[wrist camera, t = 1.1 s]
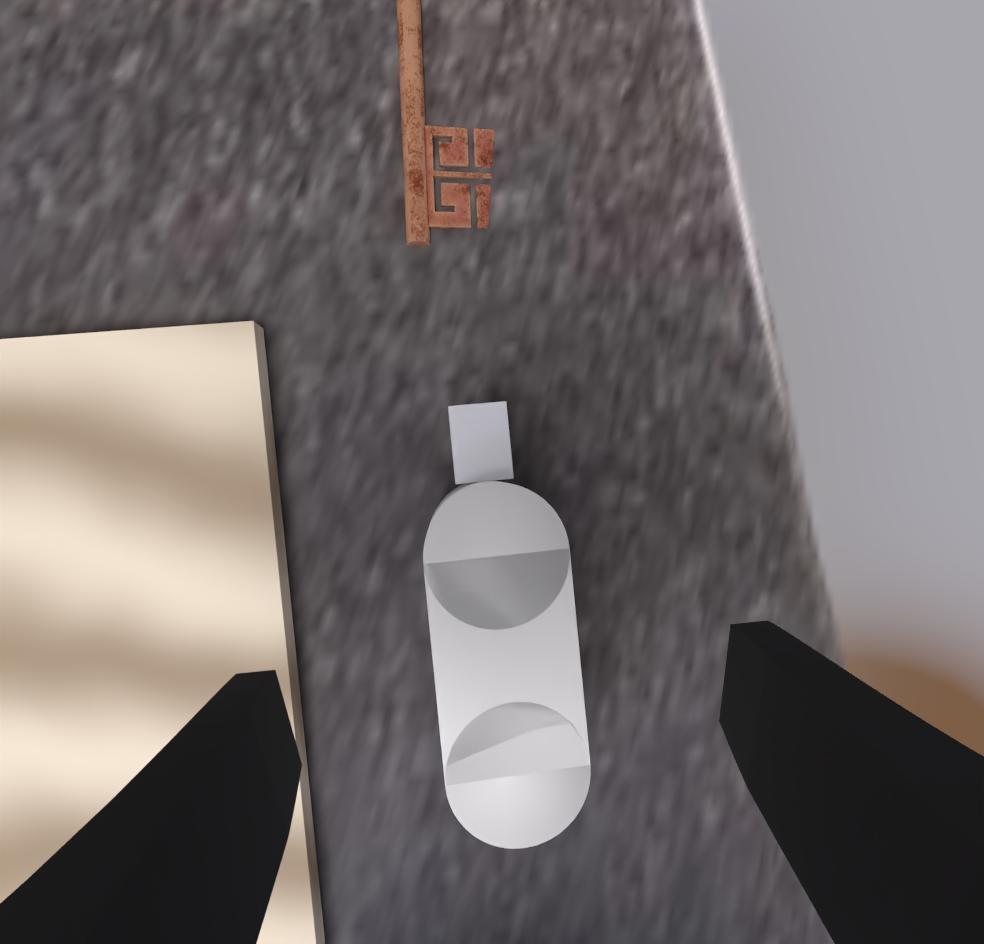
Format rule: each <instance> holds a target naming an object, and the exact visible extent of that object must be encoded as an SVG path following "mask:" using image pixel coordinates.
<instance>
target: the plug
mask: <svg viewBox="0 0 984 944" xmlns="http://www.w3.org/2000/svg"><path fill="white" fill-rule="evenodd" d="M448 415H449V425H450V435H451V445H452V455H453V466H454V476H455V484H462V485H460V486H458V487H456V488H455V489H453V490H452V491H451V492H449V493H448V494H447V495H446V496H445V497H444V498H443V499H442V500H441V502H440V503H439V504H438V506H437V508H436V510H435V511H434V514H433V516H432V519H431V522H430V525H429V528H428V531H427V534H426V538H425V543H424V550H423V566H424V576H425V586H426V596H427V607H428V617H429V627H430V637H431V647H432V657H433V668H434V678H435V688H436V698H437V708H438V718H439V728H440V739H441V749H442V759H443V769H444V779H445V788H446V794H447V798H448V801H449V804H450V807H451V809H452V811H453V813H454V815H455V816H456V818H457V819H458V821H459V822H460V823H461V824H462V826H463V827H464V828H465V829H466V830H467V831H469V832H470V833H471V834H472V835H473V836H475V837H476V838H478V839H479V840H481V841H483V842H486V843H488V844H490V845H494V846H497V847H502V848H510V849H519V848H528V847H532V846H536V845H539V844H541V843H544V842H546V841H548V840H550V839H552V838H554V837H555V836H557V835H558V834H559V833H561V832H562V831H563V830H564V829H565V828H567V827H568V826H569V825H570V823H571V822H572V821H573V820H574V819H575V817H576V816H577V814H578V813H579V811H580V810H581V808H582V806H583V804H584V802H585V799H586V796H587V794H588V789H589V785H590V776H591V769H590V756H589V745H588V735H587V725H586V714H585V704H584V693H583V683H582V673H581V662H580V652H579V641H578V631H577V620H576V610H575V600H574V589H573V579H572V568H571V558H570V548H569V542H568V537H567V534H566V530H565V528H564V526H563V523H562V521H561V519H560V518H559V516H558V515H557V513H556V512H555V510H554V509H553V508H552V507H551V505H549V504H548V503H547V502H546V501H545V500H544V499H543V498H542V497H540V496H539V495H537V494H536V493H534V492H532V491H531V490H529V489H527V488H524V487H521V486H519V485H514V484H510V483H505V482H500V481H494V480H503V479H514V476H513V466H512V455H511V445H510V435H509V424H508V414H507V404H506V401H503V402H491V403H480V404H468V405H457V406H448ZM463 483H464V484H463Z"/></svg>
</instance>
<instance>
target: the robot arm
mask: <svg viewBox="0 0 984 944" xmlns="http://www.w3.org/2000/svg"><path fill="white" fill-rule="evenodd" d="M719 721H720V724H721V726H722V729H723V731H724V734H725V736H726V739H727V741H728V744H729V746H730V748H731V751H732V753H733V756H734V758H735V760H736V763H737V765H738V767H739V770H740V772H741V774H742V776H743V779H744V781H745V783H746V786H747V787H748V789H749V791H750V793H751V795H752V797H753V799H754V800H755V802H756V804H757V806H758V808H759V809H760V811H761V813H762V815H763V817H764V819H765V820H766V822H767V824H768V826H769V828H770V829H771V831H772V833H773V835H774V837H775V838H776V840H777V842H778V844H779V846H780V847H781V849H782V851H783V853H784V854H785V856H786V858H787V860H788V861H789V863H790V865H791V867H792V869H793V870H794V872H795V874H796V876H797V877H798V879H799V881H800V883H801V885H802V886H803V888H804V890H805V892H806V893H807V895H808V897H809V899H810V901H811V902H812V904H813V906H814V908H815V909H816V911H817V913H818V915H819V917H820V918H821V920H822V922H823V924H824V925H825V927H826V929H827V931H828V933H829V934H830V936H831V938H832V940H833V941H834V943H835V944H984V757H983V756H982V755H980V754H978V753H977V752H975V751H973V750H972V749H970V748H968V747H966V746H965V745H963V744H961V743H960V742H958V741H956V740H955V739H953V738H951V737H950V736H948V735H947V734H945V733H943V732H942V731H940V730H938V729H937V728H935V727H933V726H932V725H930V724H929V723H927V722H925V721H924V720H922V719H921V718H919V717H917V716H916V715H914V714H912V713H911V712H909V711H908V710H906V709H905V708H903V707H901V706H900V705H898V704H896V703H895V702H894V701H892V700H890V699H889V698H887V697H886V696H884V695H883V694H881V693H880V692H878V691H877V690H875V689H873V688H872V687H870V686H869V685H867V684H866V683H864V682H863V681H861V680H859V679H858V678H857V677H855V676H853V675H852V674H850V673H849V672H847V671H846V670H844V669H843V668H841V667H840V666H838V665H837V664H835V663H834V662H832V661H831V660H829V659H828V658H826V657H825V656H823V655H822V654H820V653H818V652H817V651H815V650H814V649H812V648H811V647H809V646H808V645H806V644H805V643H803V642H802V641H800V640H799V639H797V638H795V637H794V636H792V635H791V634H789V633H788V632H786V631H784V630H783V629H781V628H780V627H778V626H776V625H775V624H773V623H771V622H770V621H760V622H750V623H740V624H731V626H730V634H729V643H728V651H727V660H726V668H725V677H724V685H723V694H722V702H721V711H720V719H719ZM301 769H302V762H301V759H300V755H299V752H298V748H297V744H296V741H295V737H294V734H293V730H292V727H291V723H290V720H289V716H288V713H287V709H286V706H285V702H284V698H283V695H282V691H281V688H280V684H279V681H278V677H277V674H276V670H268V671H258V672H248V673H238V674H235V675H234V676H233V677H232V678H231V679H230V680H229V681H228V682H227V683H226V684H225V685H224V686H223V687H222V688H221V689H220V690H219V691H218V692H217V693H216V694H215V695H214V696H213V697H212V698H211V699H210V700H209V701H208V702H207V703H206V704H205V705H204V706H203V707H202V708H201V709H200V710H199V711H198V712H197V713H196V715H195V716H194V717H193V718H192V719H191V720H190V721H189V722H188V723H187V724H186V725H185V726H184V727H183V728H182V729H181V730H180V731H179V732H178V733H177V734H176V735H175V736H174V737H173V738H172V739H171V740H170V741H169V742H168V743H167V744H166V745H165V746H164V747H163V748H162V749H161V750H160V751H159V753H158V754H157V755H156V756H155V757H154V758H153V759H152V760H151V761H150V762H149V763H148V764H147V765H146V766H145V767H144V768H143V769H142V770H141V771H140V772H139V773H138V774H137V775H136V776H135V777H134V778H133V779H132V780H131V781H130V782H129V783H128V784H127V785H126V786H125V787H124V788H123V789H122V790H121V791H120V792H119V793H118V794H117V795H116V796H115V797H114V798H113V799H112V800H111V801H110V802H109V803H108V804H107V805H105V806H104V807H103V808H102V809H101V810H100V811H99V812H98V813H97V814H96V815H95V816H94V817H93V818H92V819H91V820H90V821H89V822H87V823H86V824H85V825H84V826H83V827H82V828H81V829H80V830H79V831H78V832H77V833H76V834H75V835H74V836H73V837H72V838H71V839H69V840H68V841H67V842H66V843H65V844H64V845H63V846H62V847H61V848H60V849H59V850H58V851H57V852H56V853H55V854H54V855H53V856H51V857H50V858H49V859H48V860H47V861H46V862H45V863H44V864H43V865H42V866H41V867H40V868H39V869H38V870H37V871H36V872H35V873H33V874H32V875H31V876H30V877H29V878H28V879H27V880H26V881H25V882H24V883H23V884H21V885H20V886H19V887H18V888H17V889H16V890H15V891H14V892H13V893H11V894H10V895H9V896H8V897H7V898H6V899H5V900H4V901H2V902H1V903H0V944H256V943H257V940H258V936H259V933H260V930H261V927H262V923H263V920H264V917H265V914H266V910H267V907H268V904H269V901H270V897H271V894H272V891H273V887H274V884H275V881H276V877H277V874H278V871H279V867H280V864H281V861H282V858H283V854H284V851H285V847H286V844H287V840H288V837H289V832H290V827H291V823H292V818H293V813H294V808H295V803H296V797H297V791H298V786H299V780H300V774H301Z"/></svg>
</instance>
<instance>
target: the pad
mask: <svg viewBox="0 0 984 944" xmlns="http://www.w3.org/2000/svg"><path fill="white" fill-rule="evenodd" d="M268 670H276V674H277V677H278V681H279V684H280V688H281V691H282V695H283V698H284V702H285V706H286V709H287V713H288V716H289V720H290V723H291V727H292V730H293V734H294V737H295V741H296V744H297V748H298V752H299V755H300V759H301V762H302V769H301V774H300V780H299V786H298V791H297V797H296V803H295V808H294V813H293V818H292V823H291V827H290V832H289V837H288V840H287V844H286V847H285V851H284V854H283V858H282V861H281V864H280V867H279V871H278V874H277V877H276V881H275V884H274V887H273V891H272V894H271V897H270V901H269V904H268V907H267V910H266V914H265V917H264V920H263V923H262V927H261V930H260V933H259V936H258V940H257V943H256V944H325V936H324V926H323V916H322V906H321V896H320V886H319V876H318V866H317V856H316V846H315V836H314V826H313V817H312V807H311V797H310V787H309V777H308V767H307V757H306V747H305V737H304V727H303V717H302V707H301V697H300V687H299V677H298V667H297V658H296V648H295V638H294V628H293V618H292V608H291V598H290V588H289V578H288V568H287V558H286V548H285V538H284V528H283V518H282V509H281V499H280V489H279V479H278V469H277V459H276V449H275V439H274V429H273V419H272V409H271V399H270V389H269V379H268V369H267V359H266V350H265V340H264V330H263V328H262V327H261V326H259V325H258V324H257V323H256V322H254V321H244V322H230V323H216V324H203V325H189V326H175V327H161V328H147V329H134V330H120V331H106V332H92V333H78V334H65V335H51V336H37V337H23V338H10V339H0V903H1V902H2V901H4V900H5V899H6V898H7V897H8V896H9V895H10V894H11V893H13V892H14V891H15V890H16V889H17V888H18V887H19V886H20V885H21V884H23V883H24V882H25V881H26V880H27V879H28V878H29V877H30V876H31V875H32V874H33V873H35V872H36V871H37V870H38V869H39V868H40V867H41V866H42V865H43V864H44V863H45V862H46V861H47V860H48V859H49V858H50V857H51V856H53V855H54V854H55V853H56V852H57V851H58V850H59V849H60V848H61V847H62V846H63V845H64V844H65V843H66V842H67V841H68V840H69V839H71V838H72V837H73V836H74V835H75V834H76V833H77V832H78V831H79V830H80V829H81V828H82V827H83V826H84V825H85V824H86V823H87V822H89V821H90V820H91V819H92V818H93V817H94V816H95V815H96V814H97V813H98V812H99V811H100V810H101V809H102V808H103V807H104V806H105V805H107V804H108V803H109V802H110V801H111V800H112V799H113V798H114V797H115V796H116V795H117V794H118V793H119V792H120V791H121V790H122V789H123V788H124V787H125V786H126V785H127V784H128V783H129V782H130V781H131V780H132V779H133V778H134V777H135V776H136V775H137V774H138V773H139V772H140V771H141V770H142V769H143V768H144V767H145V766H146V765H147V764H148V763H149V762H150V761H151V760H152V759H153V758H154V757H155V756H156V755H157V754H158V753H159V751H160V750H161V749H162V748H163V747H164V746H165V745H166V744H167V743H168V742H169V741H170V740H171V739H172V738H173V737H174V736H175V735H176V734H177V733H178V732H179V731H180V730H181V729H182V728H183V727H184V726H185V725H186V724H187V723H188V722H189V721H190V720H191V719H192V718H193V717H194V716H195V715H196V713H197V712H198V711H199V710H200V709H201V708H202V707H203V706H204V705H205V704H206V703H207V702H208V701H209V700H210V699H211V698H212V697H213V696H214V695H215V694H216V693H217V692H218V691H219V690H220V689H221V688H222V687H223V686H224V685H225V684H226V683H227V682H228V681H229V680H230V679H231V678H232V677H233V676H234V675H235V674H238V673H248V672H258V671H268Z"/></svg>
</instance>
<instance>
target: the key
mask: <svg viewBox="0 0 984 944" xmlns="http://www.w3.org/2000/svg"><path fill="white" fill-rule="evenodd" d="M397 23H398V47H399V71H400V96H401V120H402V144H403V168H404V193H405V217H406V241H407V245H430V228H471V212H470V186H469V184H462V183H441V184H440V187H441V207H455V212H435V204H434V179H433V178H491V176H492V174H488V173H468V172H448V171H434V169H433V140H432V138H452V142H439V163H440V167H469V161H468V136H467V128H457V127H441V126H425V102H424V78H423V53H422V29H421V4H420V0H397ZM473 134H474V158H475V167H492V162H493V148H494V134H495V130H489V129H473ZM490 191H491V185H484V184H476V207H477V228H488V219H489V205H490Z"/></svg>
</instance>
